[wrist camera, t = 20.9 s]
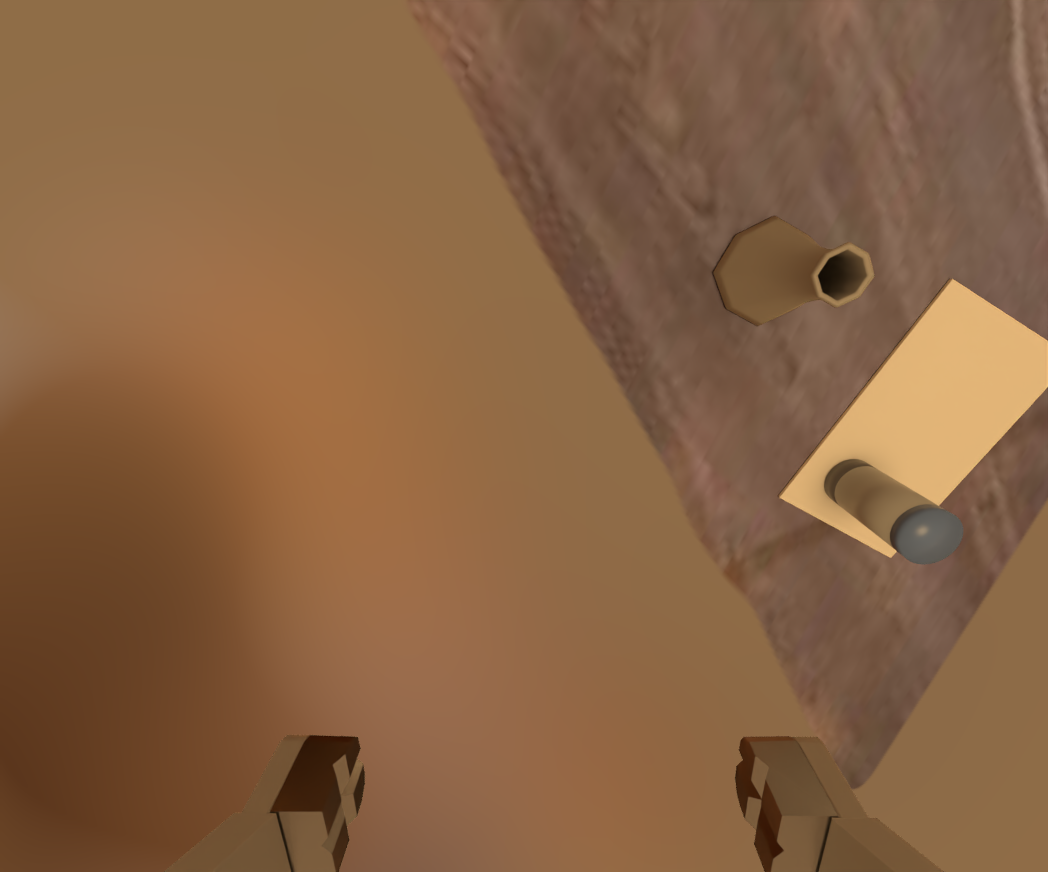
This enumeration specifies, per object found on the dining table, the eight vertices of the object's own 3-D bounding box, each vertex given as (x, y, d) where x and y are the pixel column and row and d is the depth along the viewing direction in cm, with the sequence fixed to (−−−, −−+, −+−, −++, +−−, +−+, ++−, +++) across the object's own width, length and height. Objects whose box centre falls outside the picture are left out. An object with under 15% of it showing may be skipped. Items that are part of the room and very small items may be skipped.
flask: (776, 196, 35) (865, 170, 26) (834, 273, 37) (938, 276, 27) (694, 272, 37) (749, 275, 27) (753, 342, 38) (824, 368, 29)
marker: (845, 451, 41) (929, 501, 32) (883, 471, 41) (976, 526, 33) (814, 490, 42) (887, 549, 33) (852, 510, 42) (933, 573, 34)
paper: (949, 278, 36) (952, 279, 36) (1070, 357, 38) (1074, 358, 38) (778, 496, 42) (779, 497, 42) (888, 556, 44) (890, 557, 44)
